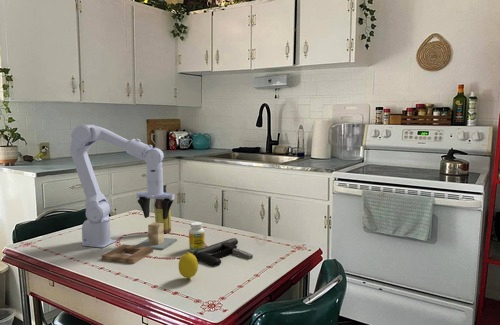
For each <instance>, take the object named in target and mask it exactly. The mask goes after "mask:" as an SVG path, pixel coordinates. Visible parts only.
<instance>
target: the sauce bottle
mask: <svg viewBox="0 0 500 325" xmlns="http://www.w3.org/2000/svg"><path fill="white" fill-rule="evenodd" d="M163 192H164V193H167V183H164V182H163ZM163 200H164V199H155V201H154V219H155V220H154V222H158V223H163V227H164V234H168V233H169V234H170V232H172V213H171V209H170V210H169V213H168V218H167V219H163V209H162V204H161V201H163Z"/></svg>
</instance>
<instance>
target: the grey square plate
mask: <svg viewBox="0 0 500 325" xmlns="http://www.w3.org/2000/svg"><path fill="white" fill-rule="evenodd" d="M177 241H178V238H172V237H171V238H170V237H164V242H162V243H160V244H159V245H157V244H149V238H146V239H145V240H143V241H141V242H139V243H137V244H135V246H144V247H153V250H159V251H163V250H165V249H167V248H168V247H169V246H171V245H172V244H175V243H176V242H177Z"/></svg>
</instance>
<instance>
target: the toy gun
mask: <svg viewBox="0 0 500 325" xmlns="http://www.w3.org/2000/svg"><path fill="white" fill-rule="evenodd" d="M238 243H239V241H238V239H237V238H236V237H234V238H232V237H231V238H229V239H226V240H223V241H220V242H217V243H214V244H211V245H208V246H205V248H202V249H199V250H195V251H194V252H192V254H193V255H194V256H195V257H196V259H197V261H198V260H199V261H201V262H203V263H205V264H208V265H210V266H212V267H218V266H220V265H221V264H222V260H221V259H222V258H225V257H228V256H230V255H235V256H237V257H240V258H243V259H247V260H252V259H253V257H254V255H253V254H252V253H249V252H247V251H244V250H242V249H240V248H238V246H237V245H238Z"/></svg>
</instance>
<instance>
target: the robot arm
mask: <svg viewBox="0 0 500 325" xmlns="http://www.w3.org/2000/svg"><path fill="white" fill-rule="evenodd" d="M70 135H71V142H70V148H69V152H70V155H71V158H72V161H73V165H74V166H75V169H76V172H77V174H78V175H77V176H78V179H79V181H80V183H81V187H82V189H83V191H84V192H83V193H84V195H85V202H84V206H85V218H86V220H84V222H83V223H82V226H81V236H82V237H81V238H82V241H81V242H82V243H81V244H80V246H84V247H92V248H94V247H95V248H101V249H102V248H105V247H107V246H109V245H112V244H113V243H116V241H117V240H116V239H112V238H111V236H112V235H111V219H110V216H109V215H110V214H111V213H112V205H111V203H110V202H109V201H108V200H107V198H106V196H105V194H103V193H102V192H101V188H100V186H99V185H100V184H99V183H98V180H97V177H96V174H95V171H94V169H93V166H92V163H91V159H90V156H89V154H88V151H89V150H90V148H91V146H92V145H93V144H95V142H97V141H105V142H108V143H110V144H113V145H115V146H118V147H120V148H123V149H124V150H125V152H126V153H127V154H128V155H129V156H133V157H135V158H136V159H140V160H141V161H144V162H145V163H146V187H147V188H146V189H147V190H146V191H138V192H136V199H137V203H138V204H139V206H140V208H141V210H142V213H143V216H144V218H145V219H147V218H149V217H150V204H151V199H154V200H156V199H164V200H163V201H161V204H162V209H163V219H167V218H168V213H169V210H170V211H171V207H172V204H173V202H174V200H175V199H176V198H175V197H176V196H175V193H168V192H166V193H164V192H163V183H164V170H163V160H164V157H165V154H164V151H162V149H160V148H159V147H153V145H152V144H146V143H144V142H142V140H141V139H140V138H132V139H127V138H125V137H123V136H122V135H119V134H117V133H115V132H113V131H111V130H109V129H107V128H104V127H101V126H98V125H96V124H92V123H91V124H79V125H77V126H75V128H74V129H73V130H72V132H71V134H70Z"/></svg>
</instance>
